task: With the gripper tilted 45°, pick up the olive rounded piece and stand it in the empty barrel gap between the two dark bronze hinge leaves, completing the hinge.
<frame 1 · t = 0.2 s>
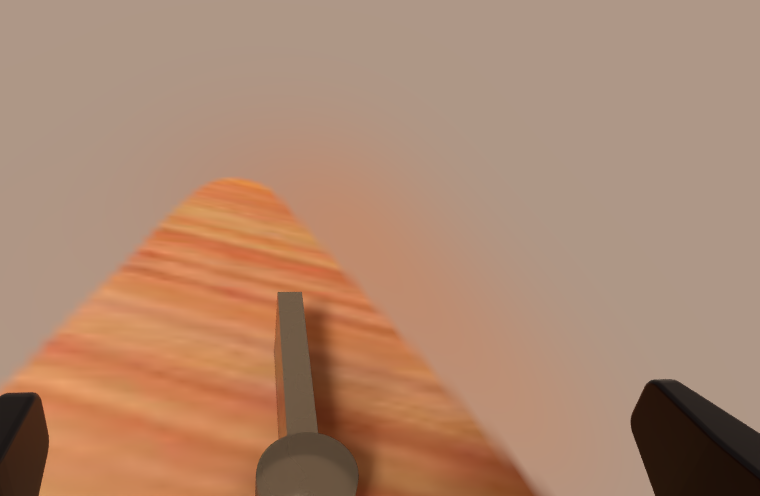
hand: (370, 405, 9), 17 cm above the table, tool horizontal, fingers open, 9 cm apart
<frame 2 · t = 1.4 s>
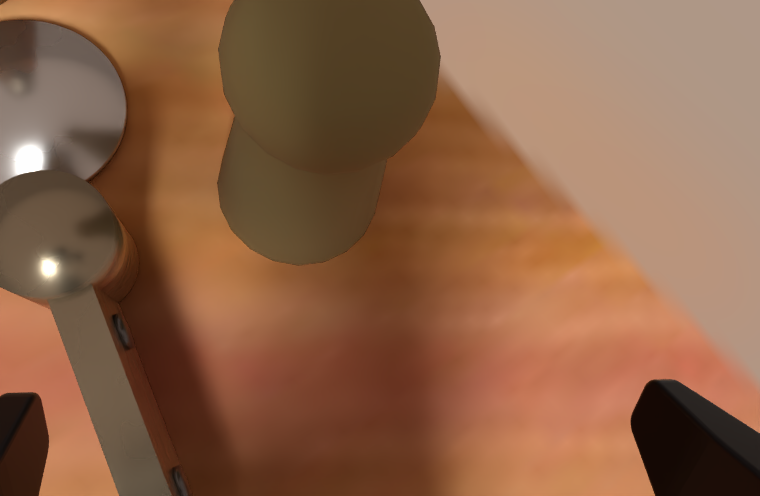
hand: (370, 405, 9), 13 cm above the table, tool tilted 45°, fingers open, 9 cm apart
olive rounded piece: (299, 188, 24), on the table
hinge frame: (25, 110, 22), on the table
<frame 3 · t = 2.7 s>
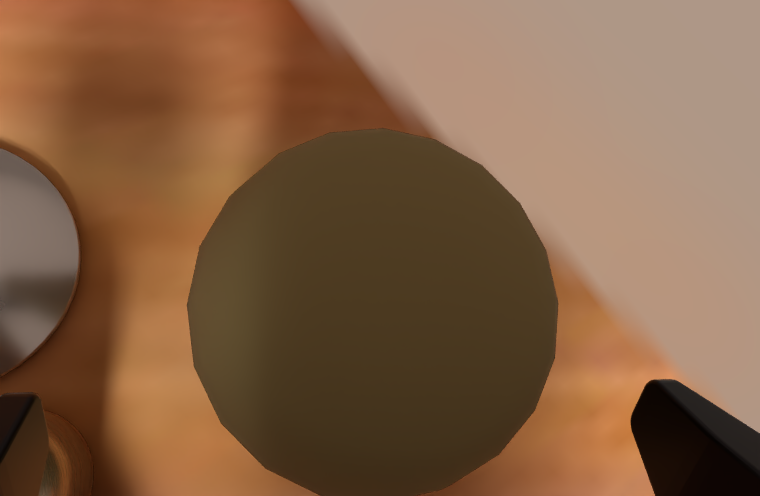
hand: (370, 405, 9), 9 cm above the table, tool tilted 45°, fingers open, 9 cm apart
olive rounded piece: (311, 353, 18), on the table
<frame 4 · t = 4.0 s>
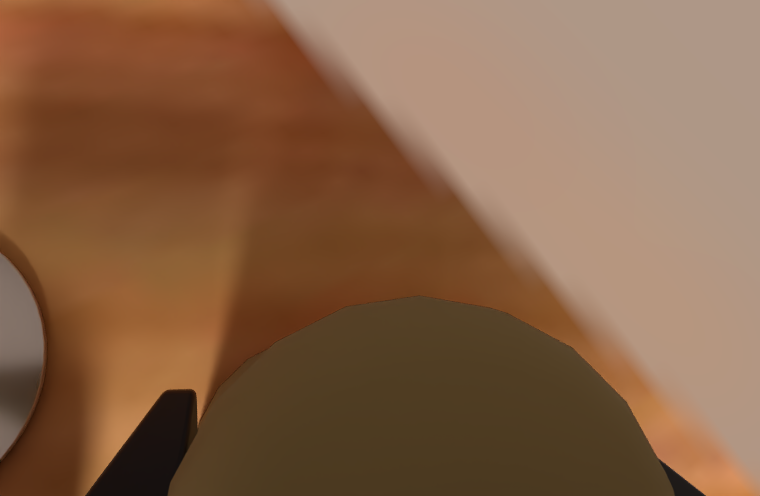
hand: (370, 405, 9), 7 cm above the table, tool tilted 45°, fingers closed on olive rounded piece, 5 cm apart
olive rounded piece: (318, 459, 15), on the table, touching gripper
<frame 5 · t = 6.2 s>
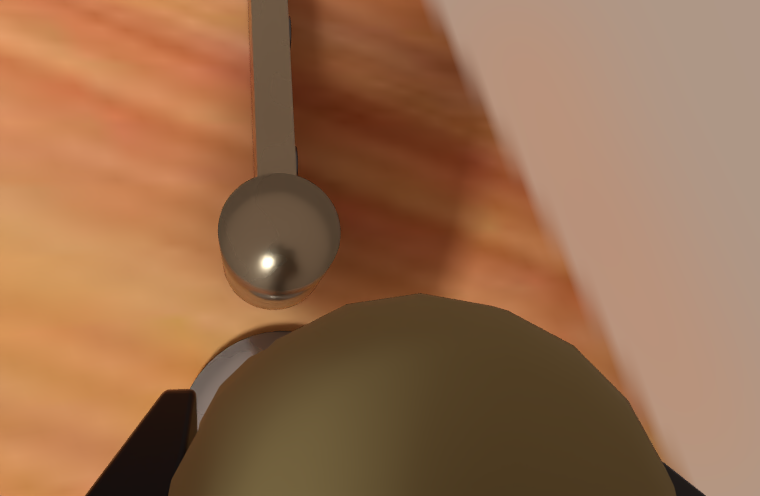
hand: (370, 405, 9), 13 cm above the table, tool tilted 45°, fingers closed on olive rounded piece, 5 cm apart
olive rounded piece: (319, 458, 15), point 7 cm above the table, touching gripper
hinge frame: (281, 430, 22), on the table
when the fingers open (8 cm above the table, at t = 8.3 s): olive rounded piece stays where it is, resting on hinge frame.
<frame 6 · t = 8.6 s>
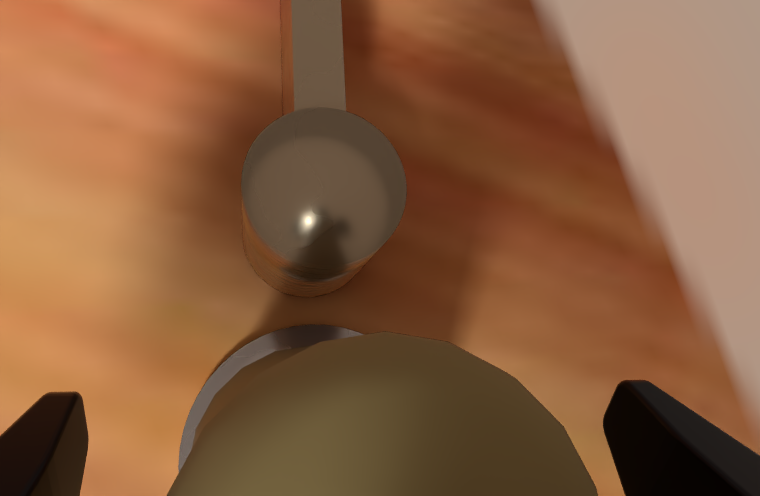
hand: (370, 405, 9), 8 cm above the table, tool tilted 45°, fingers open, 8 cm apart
olive rounded piece: (308, 462, 16), resting on hinge frame
hinge frame: (313, 454, 17), on the table
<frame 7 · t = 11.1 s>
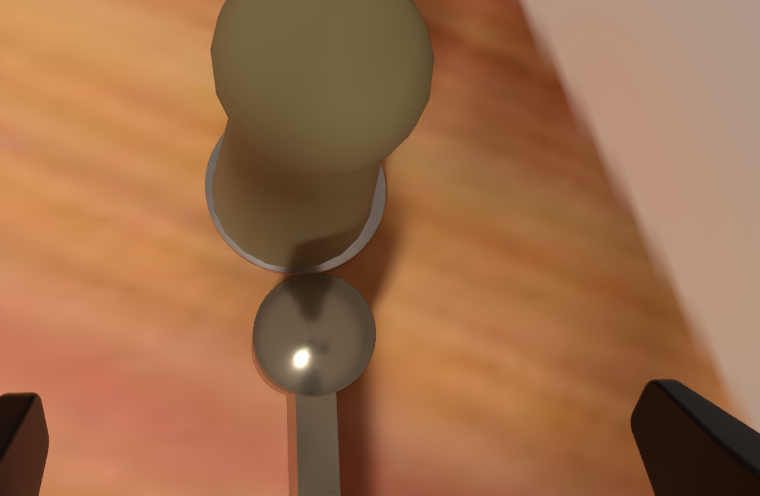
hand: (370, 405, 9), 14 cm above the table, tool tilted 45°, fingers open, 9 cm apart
olive rounded piece: (293, 191, 24), resting on hinge frame
hinge frame: (297, 188, 24), on the table
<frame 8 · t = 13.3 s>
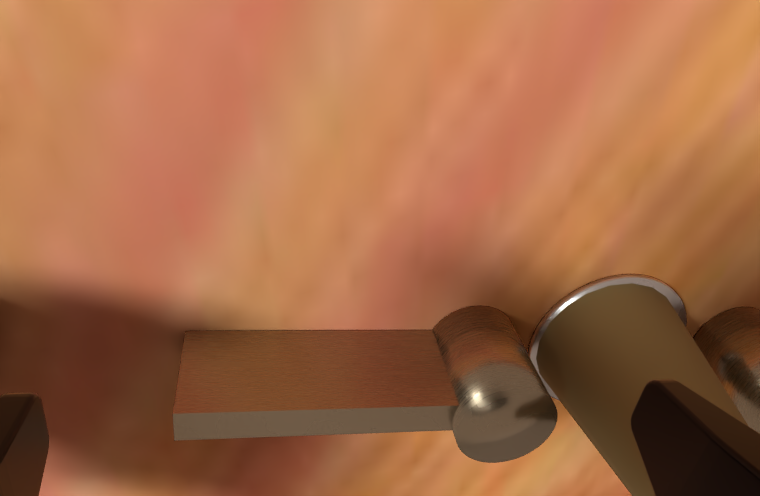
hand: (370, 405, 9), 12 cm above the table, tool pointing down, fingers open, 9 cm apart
olive rounded piece: (603, 339, 26), resting on hinge frame
hinge frame: (605, 340, 27), on the table
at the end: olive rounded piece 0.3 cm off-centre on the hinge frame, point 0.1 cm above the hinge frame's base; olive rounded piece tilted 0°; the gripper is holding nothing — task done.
